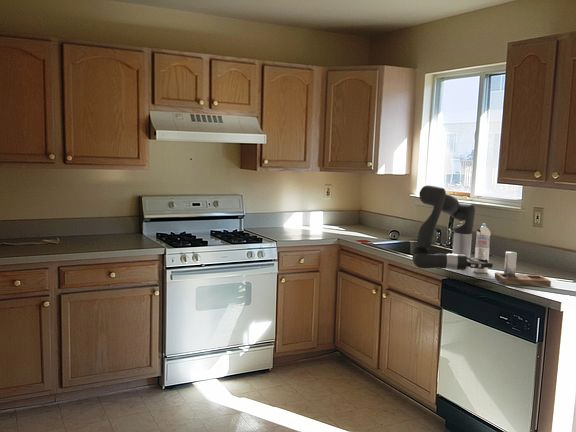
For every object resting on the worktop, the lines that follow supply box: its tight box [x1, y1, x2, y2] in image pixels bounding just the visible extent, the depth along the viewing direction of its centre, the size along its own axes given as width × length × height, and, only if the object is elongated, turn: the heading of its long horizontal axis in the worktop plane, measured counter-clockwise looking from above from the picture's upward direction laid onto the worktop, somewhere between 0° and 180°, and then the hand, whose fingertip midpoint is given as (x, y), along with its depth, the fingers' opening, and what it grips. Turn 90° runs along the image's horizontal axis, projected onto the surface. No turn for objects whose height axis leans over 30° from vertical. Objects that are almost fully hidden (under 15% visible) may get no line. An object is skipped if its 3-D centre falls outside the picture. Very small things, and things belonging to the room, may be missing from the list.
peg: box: [503, 250, 518, 278], centre depth 263 cm, size 5×5×14 cm
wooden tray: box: [494, 272, 552, 287], centre depth 263 cm, size 12×22×3 cm, turn 85°
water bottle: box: [473, 223, 491, 274], centre depth 280 cm, size 7×7×25 cm
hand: (489, 263), depth 263 cm, fingers open, 8 cm apart
